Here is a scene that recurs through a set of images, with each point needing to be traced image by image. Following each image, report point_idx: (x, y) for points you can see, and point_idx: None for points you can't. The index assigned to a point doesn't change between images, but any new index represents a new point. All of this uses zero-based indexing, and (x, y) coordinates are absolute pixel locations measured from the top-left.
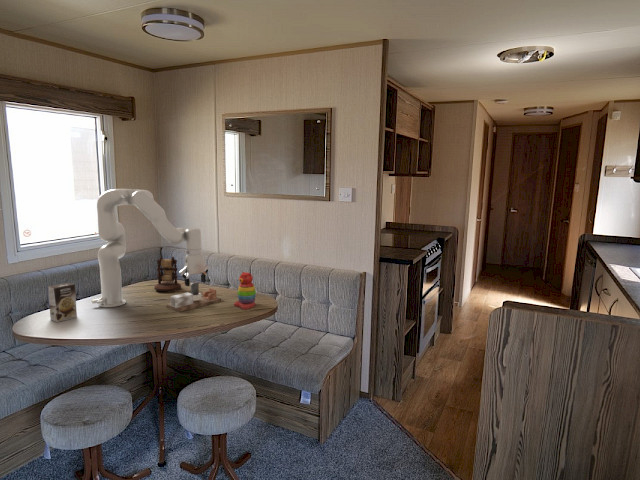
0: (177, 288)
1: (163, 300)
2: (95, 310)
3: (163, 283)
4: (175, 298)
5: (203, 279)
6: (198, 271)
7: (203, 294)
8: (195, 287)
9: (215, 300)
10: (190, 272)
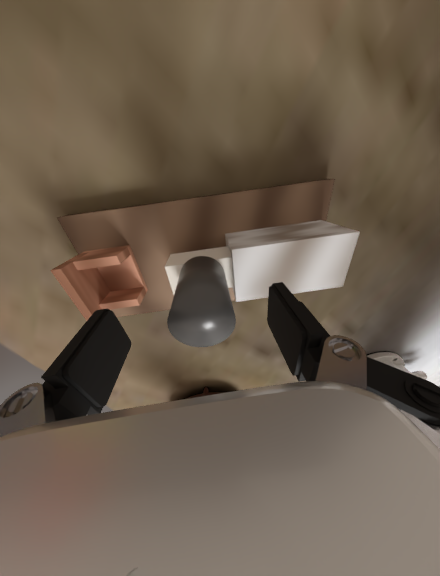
0: (194, 397)
1: (269, 343)
2: (425, 349)
3: None
4: (356, 234)
5: (102, 339)
6: (137, 477)
7: (142, 297)
8: (209, 280)
9: (98, 211)
10: (423, 456)
